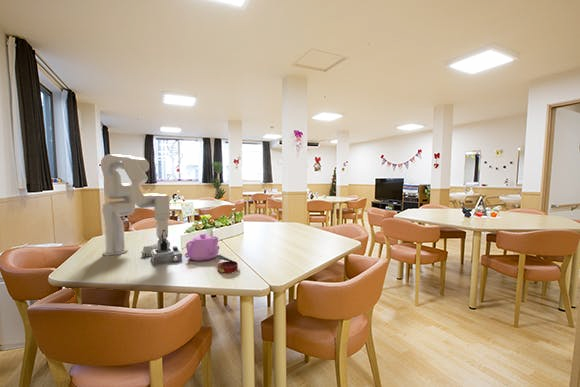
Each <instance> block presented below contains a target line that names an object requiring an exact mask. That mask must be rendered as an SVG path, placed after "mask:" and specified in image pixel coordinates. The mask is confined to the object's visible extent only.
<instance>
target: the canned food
mask: <svg viewBox="0 0 580 387" xmlns="http://www.w3.org/2000/svg"><path fill="white" fill-rule="evenodd" d="M217 257H218V259H219V260H222V262H219V263H218V264H217V267H216V268H217V269H216V270H217V272H218V274H223V273H228V274H233V273H236V272H237V271H238V270H237V269H239V268H238V267H239V266H238V265H239V264H238V262H237V261H235V260H232V259H230V258H228V257H225V256H223V255H221V254H219V255H218V254H217ZM235 271H236V272H235ZM232 272H233V273H232Z"/></svg>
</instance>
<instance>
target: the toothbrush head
mask: <svg viewBox="0 0 580 387" xmlns="http://www.w3.org/2000/svg"><path fill="white" fill-rule="evenodd" d="M168 247H171V243H170V241H169V240H168ZM154 249H158V242H157V243H154V244H151V245H144V246H143V250H142V251H140V253H141V257H142V258H144V257H151V251H153V250H154Z"/></svg>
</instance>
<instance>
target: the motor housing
mask: <svg viewBox="0 0 580 387" xmlns="http://www.w3.org/2000/svg"><path fill="white" fill-rule="evenodd" d="M150 260H151V262H152V265H153V266H157V265H164V264H169V263H170V264H171V263H176V262H182V261H183V253H182V252H181V251H180V250H179V248H178V246H174V245H173V246H172V247H171V246H168V251H167V252H160V253H158V249H154V250H151V256H150Z"/></svg>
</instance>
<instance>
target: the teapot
mask: <svg viewBox="0 0 580 387" xmlns="http://www.w3.org/2000/svg"><path fill="white" fill-rule="evenodd" d="M218 244H219V238H218V236H216V235H215V236H214V235H213V236H210V235H207V234H206V233H200V234H199V236H195V237H193V238H192V239H191V240H189V241H187V243H186V244H185V248H186V251H187V252H185V253H184V258H186V259H190V260H192V261H199V262H203V261H208V260H212V259H214V258H216V257H217V256H218V254H219V253H220V252H219V250H220V246H219V245H218Z"/></svg>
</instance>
